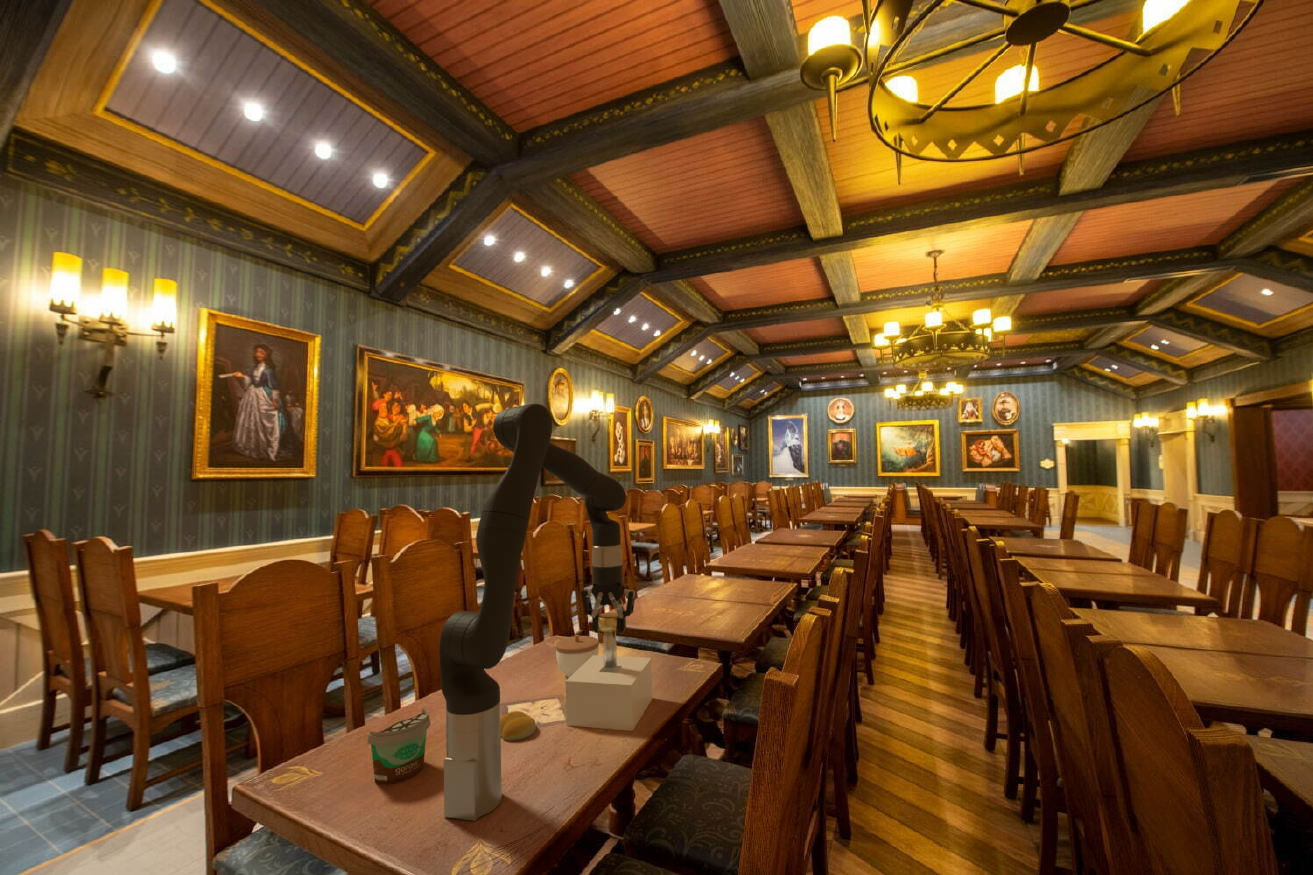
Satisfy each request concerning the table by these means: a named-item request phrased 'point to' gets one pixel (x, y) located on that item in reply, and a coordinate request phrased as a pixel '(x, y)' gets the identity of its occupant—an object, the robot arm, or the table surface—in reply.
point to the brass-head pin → (609, 637)
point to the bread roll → (516, 726)
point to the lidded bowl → (575, 652)
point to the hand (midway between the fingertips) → (609, 632)
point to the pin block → (609, 693)
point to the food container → (399, 749)
